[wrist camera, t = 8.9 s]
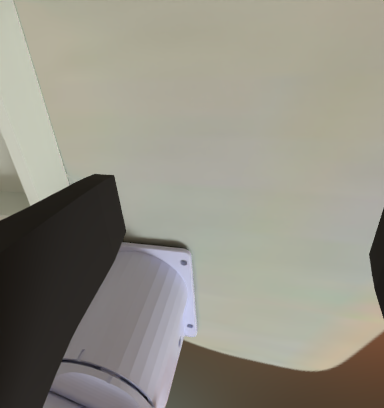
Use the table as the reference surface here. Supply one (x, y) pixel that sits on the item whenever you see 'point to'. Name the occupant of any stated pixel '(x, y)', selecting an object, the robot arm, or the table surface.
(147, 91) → the table surface
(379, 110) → the table surface
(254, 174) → the table surface
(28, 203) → the walled box
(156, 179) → the table surface
